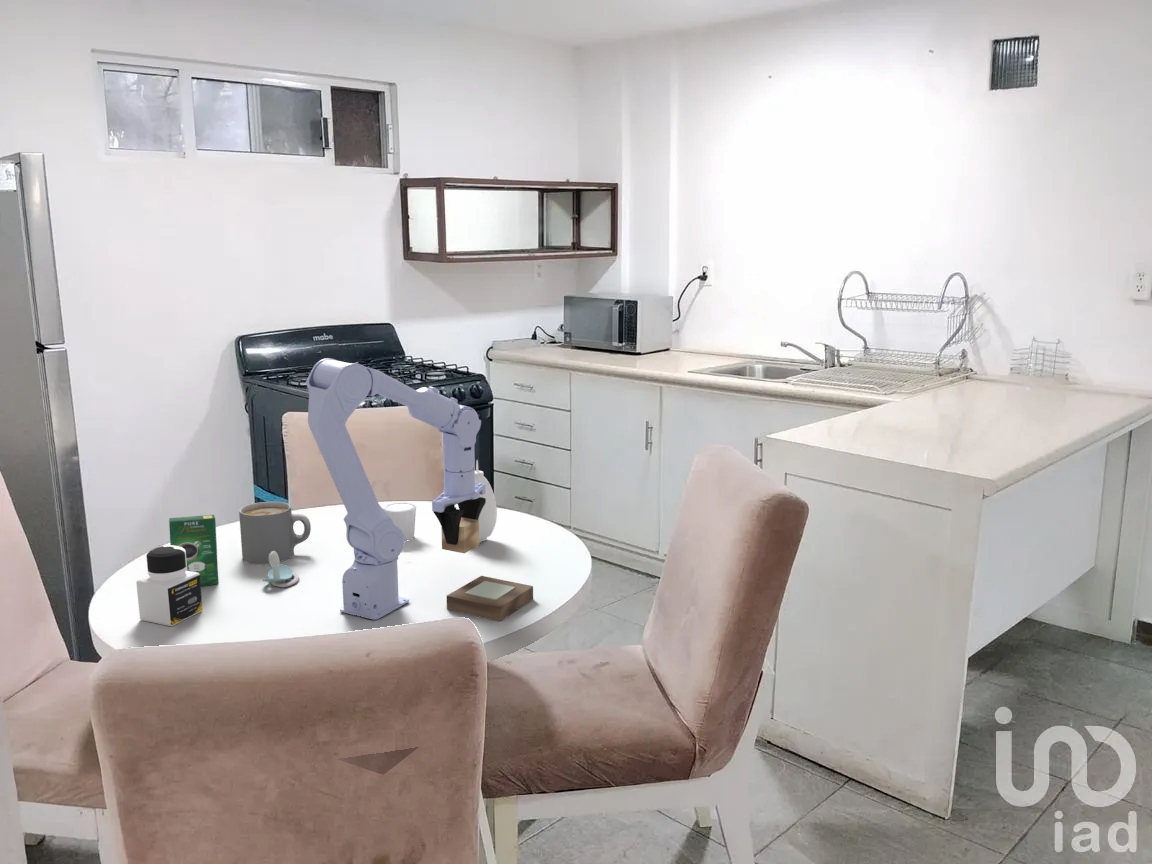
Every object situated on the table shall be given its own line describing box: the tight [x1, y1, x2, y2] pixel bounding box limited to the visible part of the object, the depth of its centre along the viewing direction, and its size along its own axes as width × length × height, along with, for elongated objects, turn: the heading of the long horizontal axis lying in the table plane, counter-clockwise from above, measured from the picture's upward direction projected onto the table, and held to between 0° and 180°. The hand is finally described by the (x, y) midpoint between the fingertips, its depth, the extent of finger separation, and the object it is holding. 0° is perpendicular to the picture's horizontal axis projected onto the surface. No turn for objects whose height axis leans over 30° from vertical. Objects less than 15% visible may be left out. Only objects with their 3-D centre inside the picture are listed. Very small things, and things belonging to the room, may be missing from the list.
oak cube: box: [441, 517, 480, 554], centre depth 170 cm, size 5×5×5 cm
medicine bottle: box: [135, 544, 203, 627], centre depth 154 cm, size 7×7×12 cm
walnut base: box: [446, 575, 534, 622], centre depth 160 cm, size 11×11×3 cm
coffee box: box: [168, 514, 220, 587], centre depth 168 cm, size 8×3×13 cm, turn 113°
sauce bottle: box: [475, 459, 498, 543], centre depth 193 cm, size 8×8×18 cm
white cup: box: [383, 502, 417, 542], centre depth 196 cm, size 7×7×7 cm
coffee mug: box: [238, 501, 312, 565], centre depth 184 cm, size 13×10×10 cm
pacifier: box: [262, 551, 300, 588], centre depth 170 cm, size 7×6×6 cm
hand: (460, 539), depth 170 cm, fingers closed on oak cube, 5 cm apart
